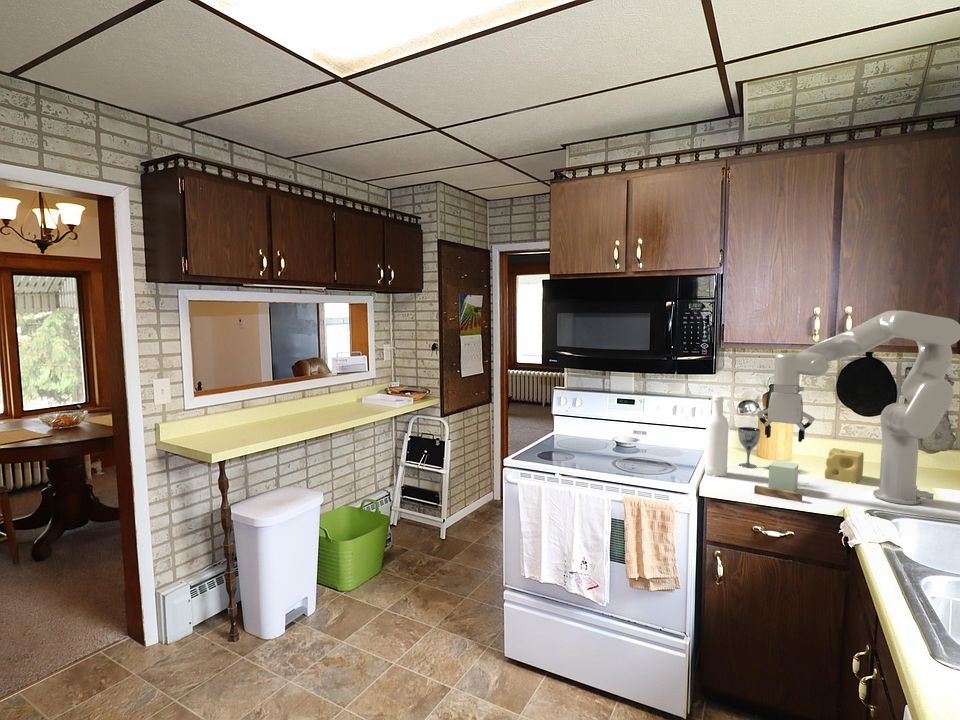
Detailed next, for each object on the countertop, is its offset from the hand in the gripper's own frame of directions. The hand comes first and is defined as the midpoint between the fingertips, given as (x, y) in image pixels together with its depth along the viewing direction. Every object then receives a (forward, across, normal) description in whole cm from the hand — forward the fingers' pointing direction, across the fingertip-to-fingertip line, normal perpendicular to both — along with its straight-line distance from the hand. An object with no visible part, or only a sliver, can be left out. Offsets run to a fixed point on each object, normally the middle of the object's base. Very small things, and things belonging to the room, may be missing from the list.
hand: (784, 439), depth 188 cm
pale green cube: (+18, 0, -3) cm, 19 cm away
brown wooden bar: (+18, 0, +7) cm, 20 cm away
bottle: (+18, +24, -8) cm, 31 cm away
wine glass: (+18, +17, -27) cm, 37 cm away
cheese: (+19, -15, -31) cm, 39 cm away
